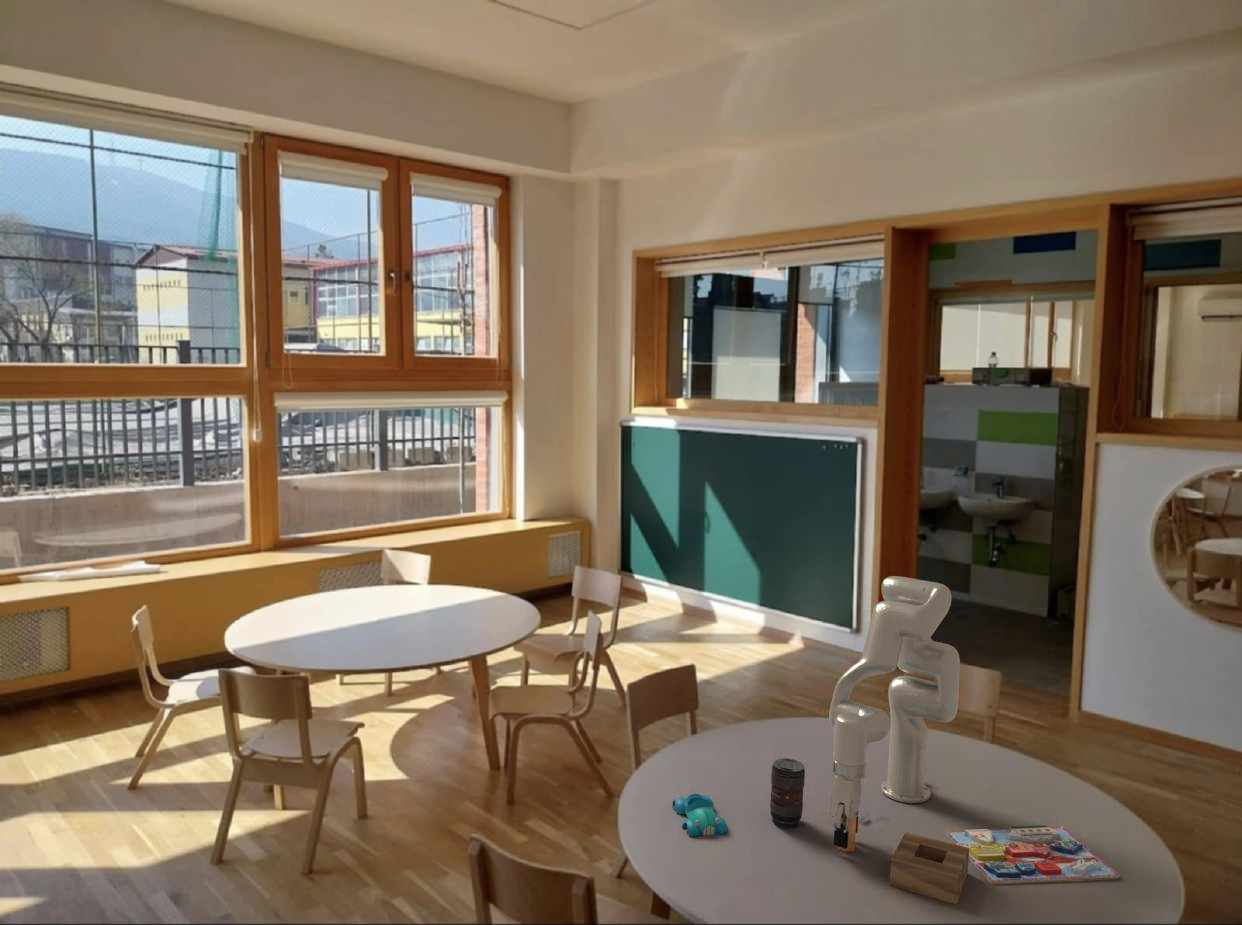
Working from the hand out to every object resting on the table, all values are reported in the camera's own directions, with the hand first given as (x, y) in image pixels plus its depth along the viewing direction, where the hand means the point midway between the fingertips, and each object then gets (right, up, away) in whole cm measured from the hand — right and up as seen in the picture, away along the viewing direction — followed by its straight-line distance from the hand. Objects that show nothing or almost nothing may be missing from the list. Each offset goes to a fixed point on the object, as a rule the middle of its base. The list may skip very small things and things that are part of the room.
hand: (845, 838), depth 219 cm
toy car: (-34, -1, +13) cm, 36 cm away
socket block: (+15, -4, -13) cm, 21 cm away
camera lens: (-12, -1, +11) cm, 17 cm away
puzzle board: (+42, -4, -2) cm, 43 cm away
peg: (0, -2, 0) cm, 2 cm away
